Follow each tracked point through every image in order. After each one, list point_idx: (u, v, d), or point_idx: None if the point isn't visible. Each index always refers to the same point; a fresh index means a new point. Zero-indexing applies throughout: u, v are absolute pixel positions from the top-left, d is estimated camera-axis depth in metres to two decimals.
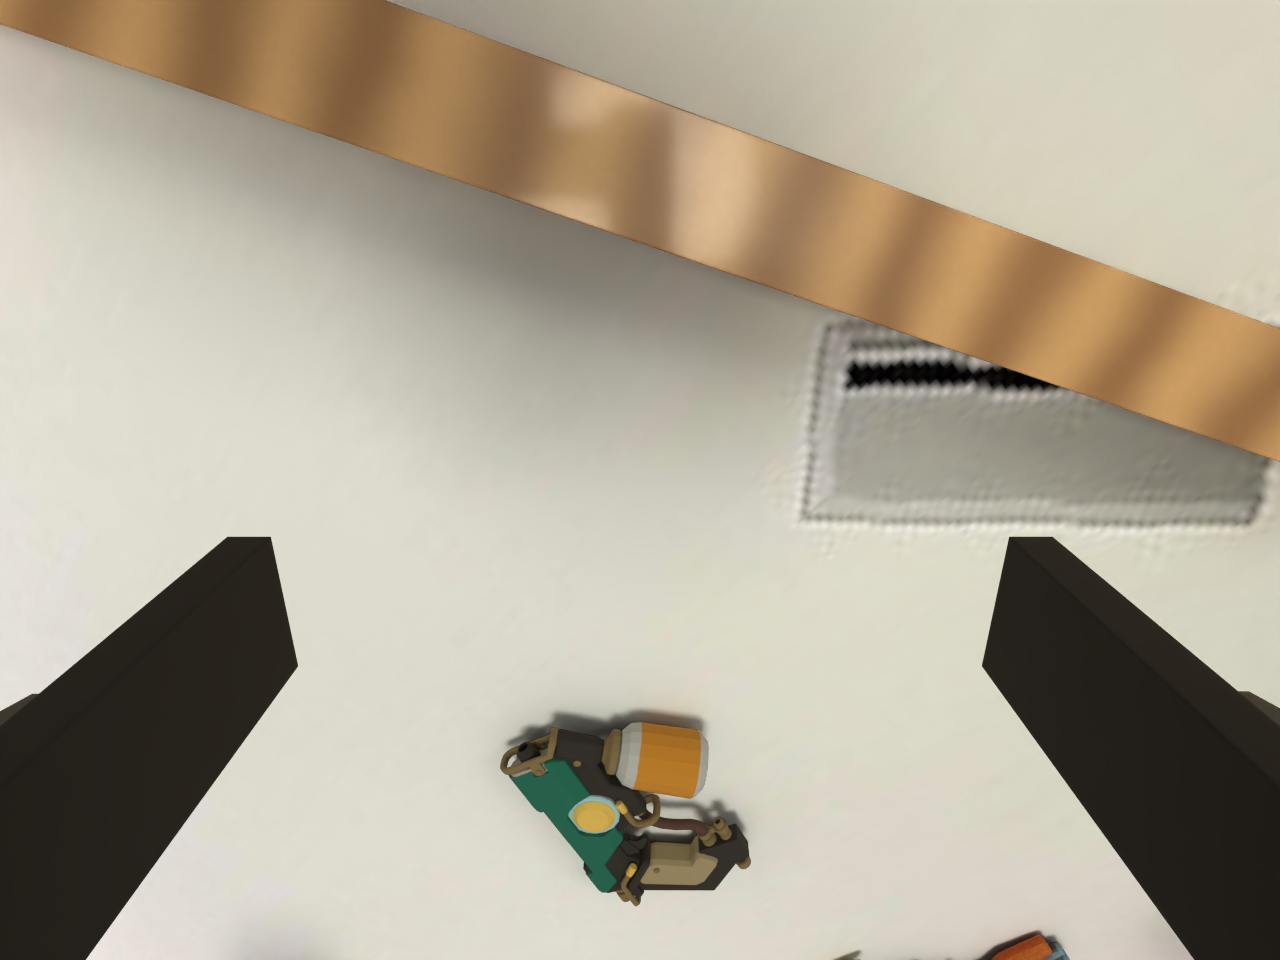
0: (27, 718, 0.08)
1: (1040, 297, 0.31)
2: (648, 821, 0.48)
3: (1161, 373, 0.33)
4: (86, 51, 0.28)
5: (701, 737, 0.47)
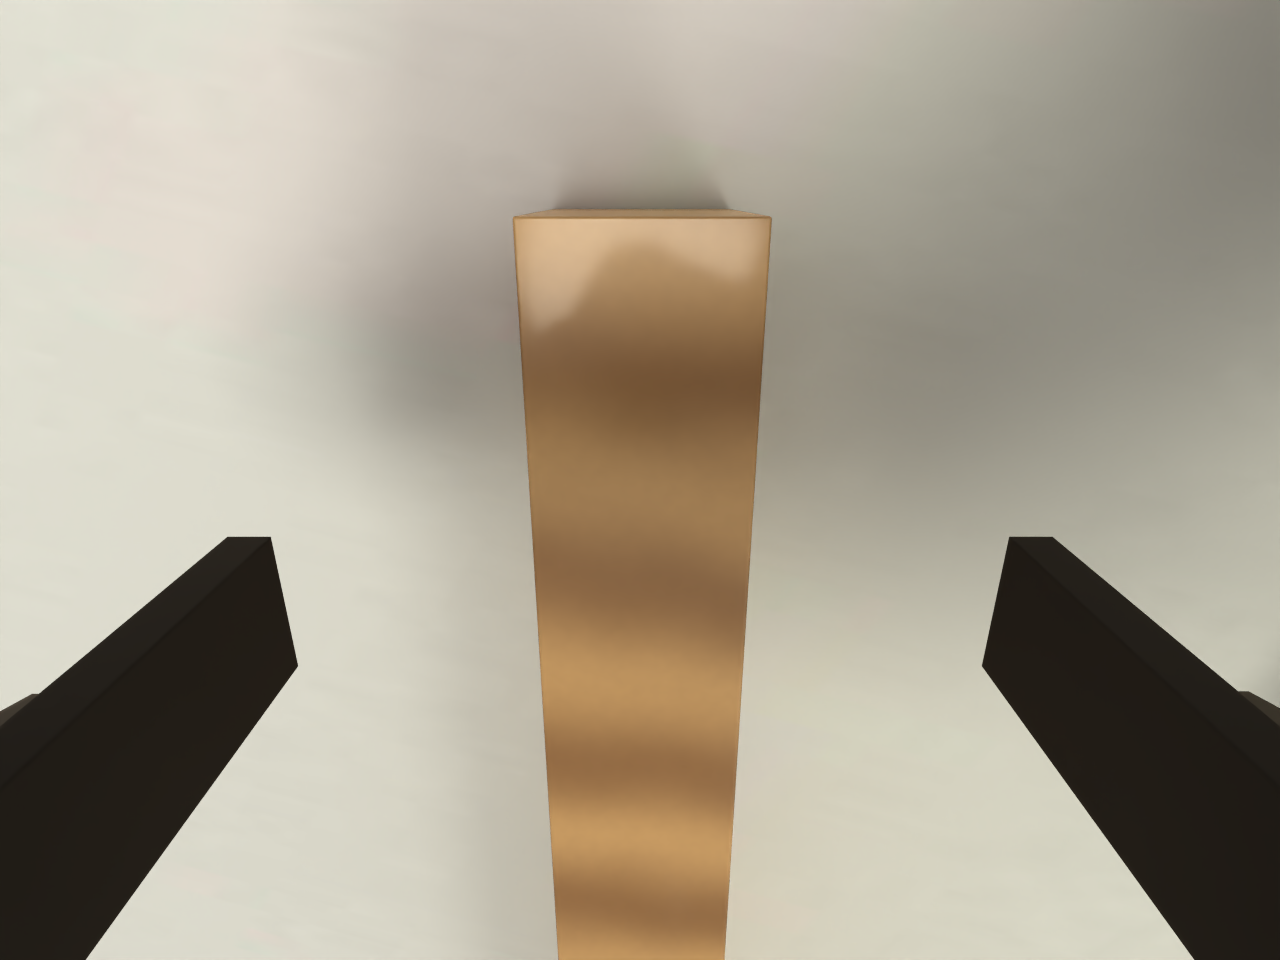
0: (27, 718, 0.08)
1: None
2: None
3: None
4: (540, 624, 0.18)
5: None
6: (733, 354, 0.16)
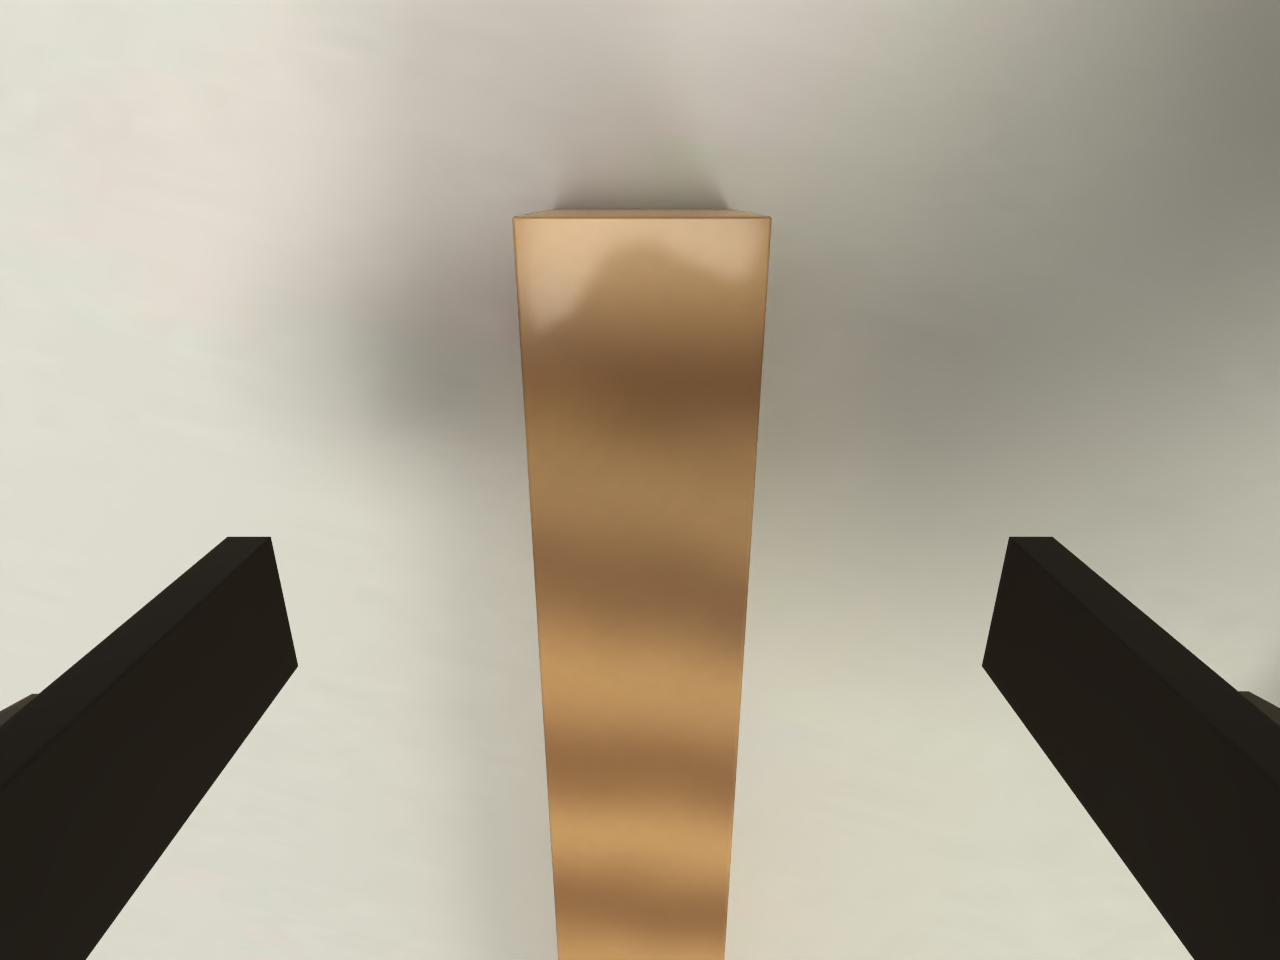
0: (27, 718, 0.08)
1: None
2: None
3: None
4: (540, 624, 0.18)
5: None
6: (733, 354, 0.16)
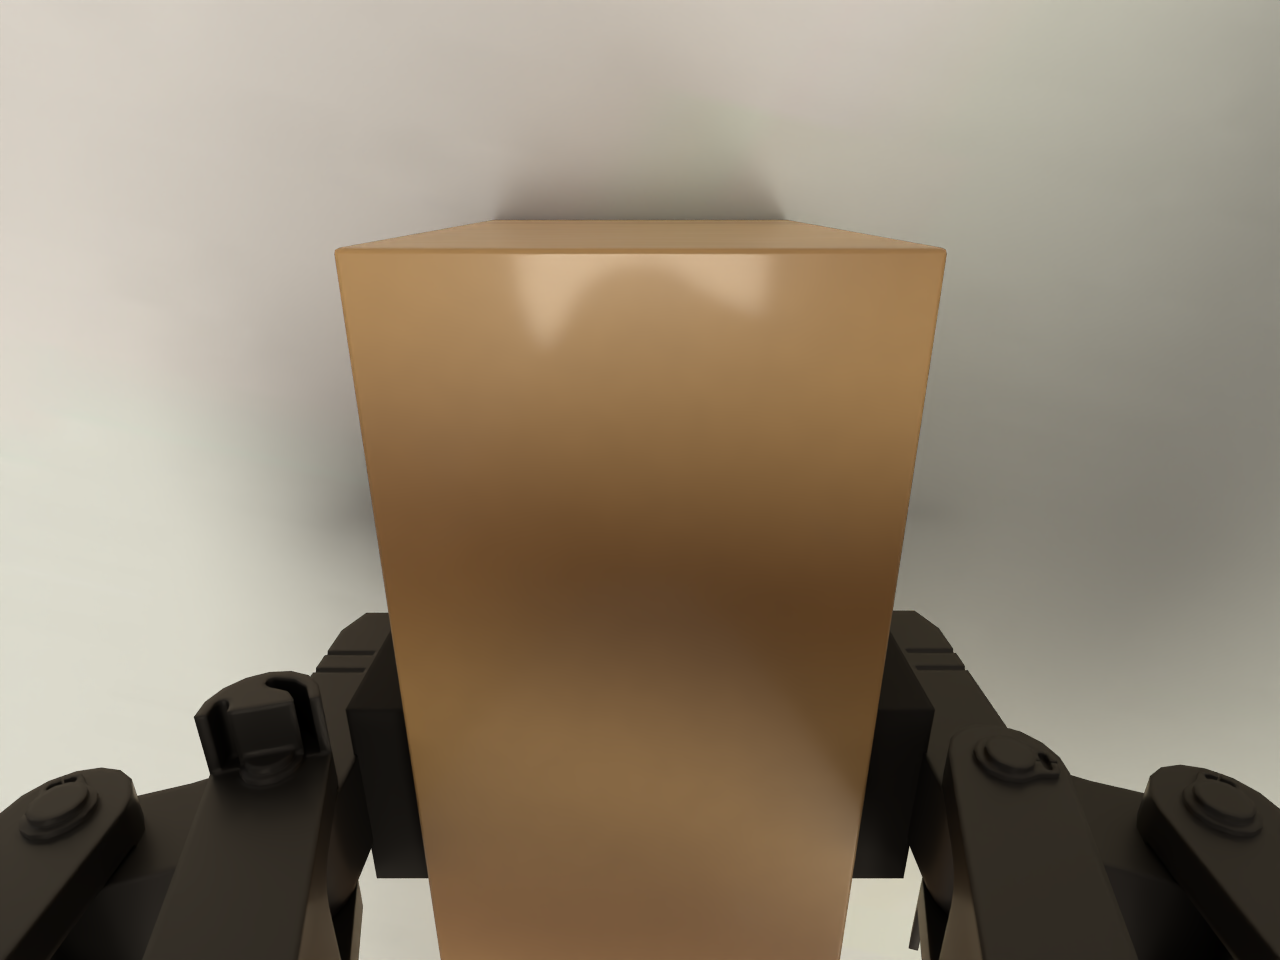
0: None
1: None
2: None
3: None
4: None
5: None
6: (839, 543, 0.07)
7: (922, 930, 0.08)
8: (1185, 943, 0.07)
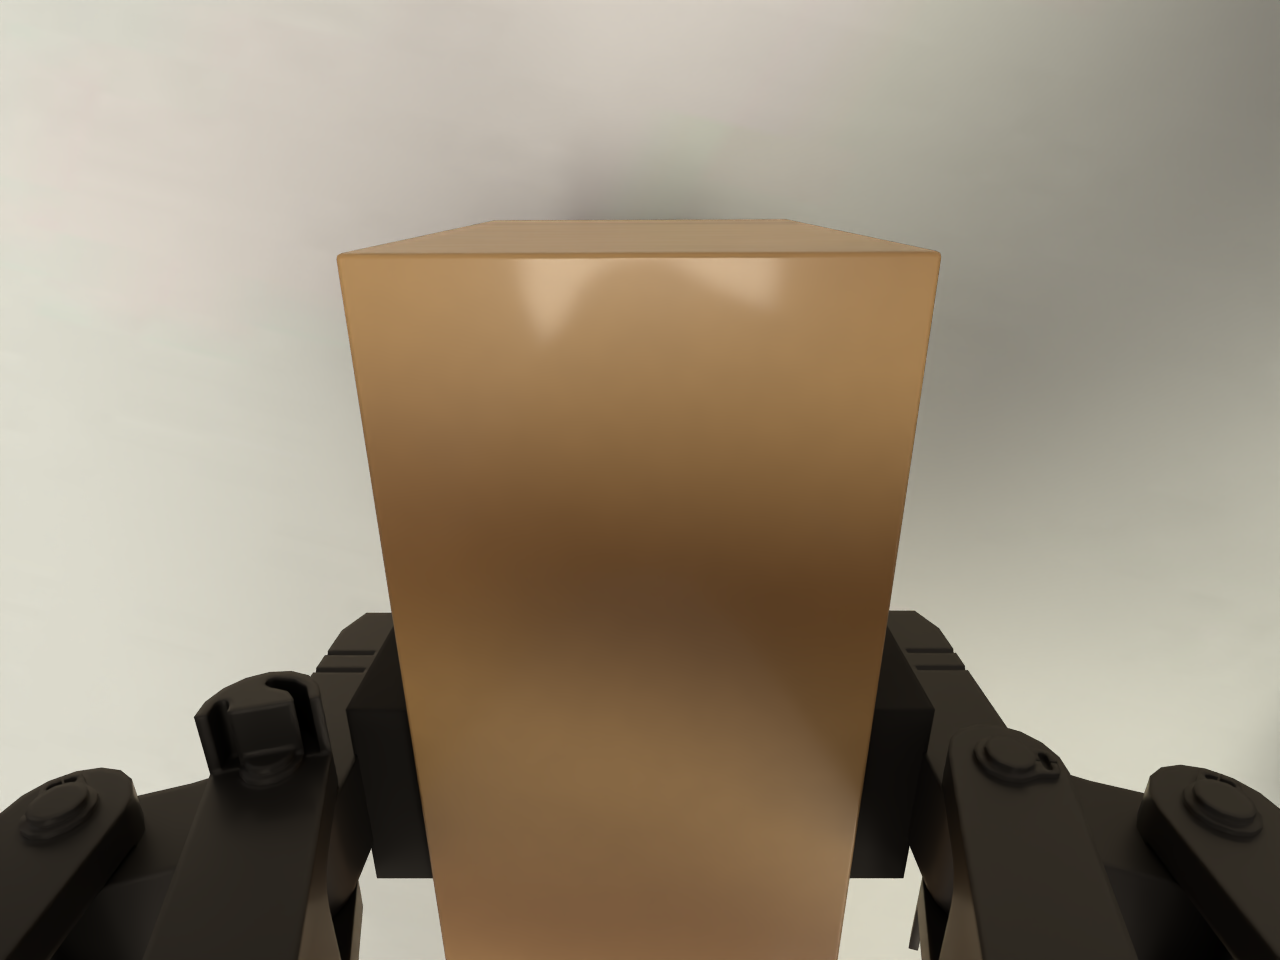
0: None
1: None
2: None
3: None
4: None
5: None
6: (835, 542, 0.07)
7: (922, 930, 0.08)
8: (1185, 943, 0.07)
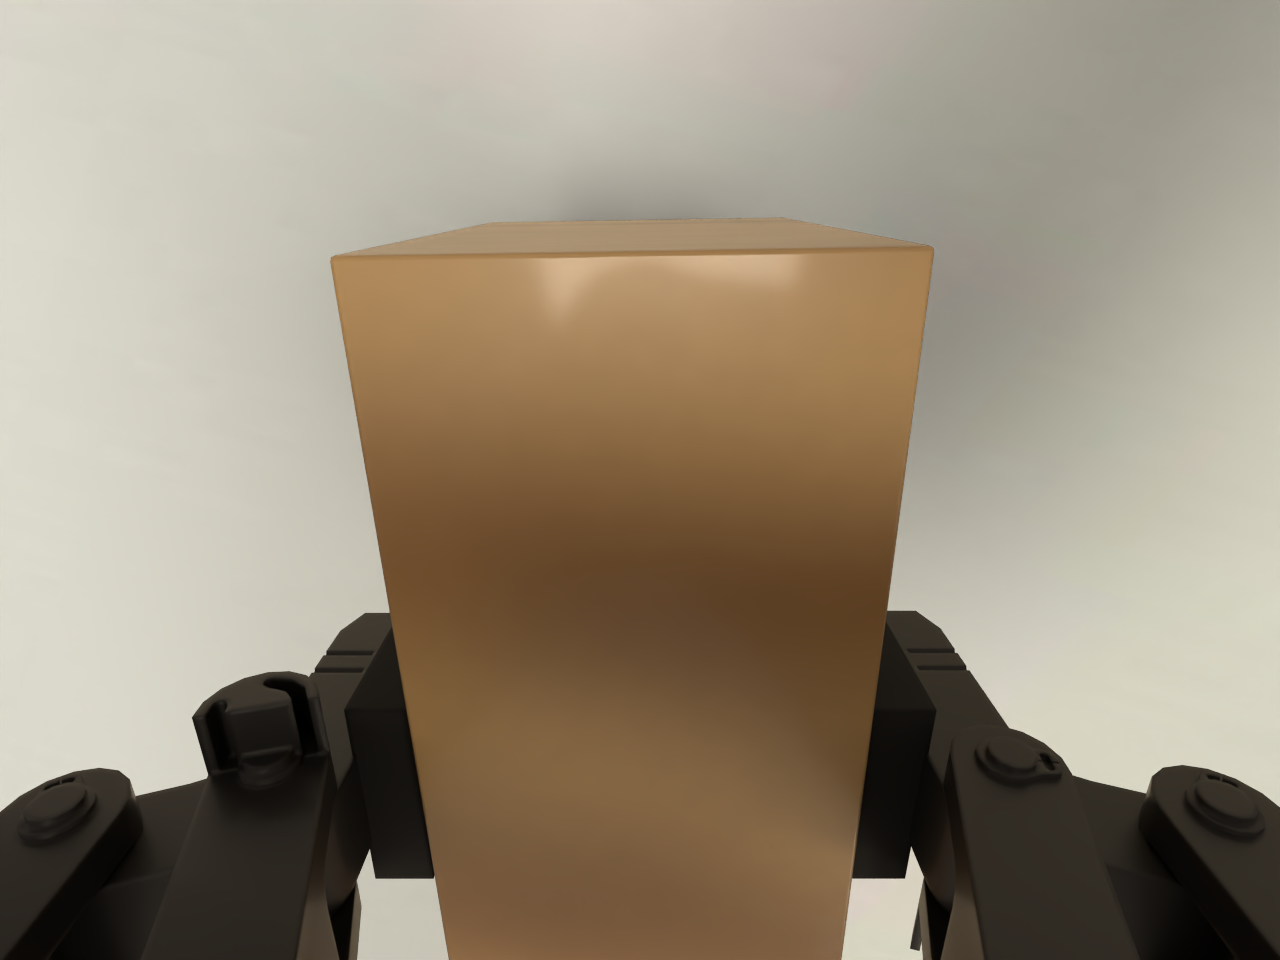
0: None
1: None
2: None
3: None
4: None
5: None
6: (832, 538, 0.07)
7: (923, 930, 0.08)
8: (1187, 944, 0.07)
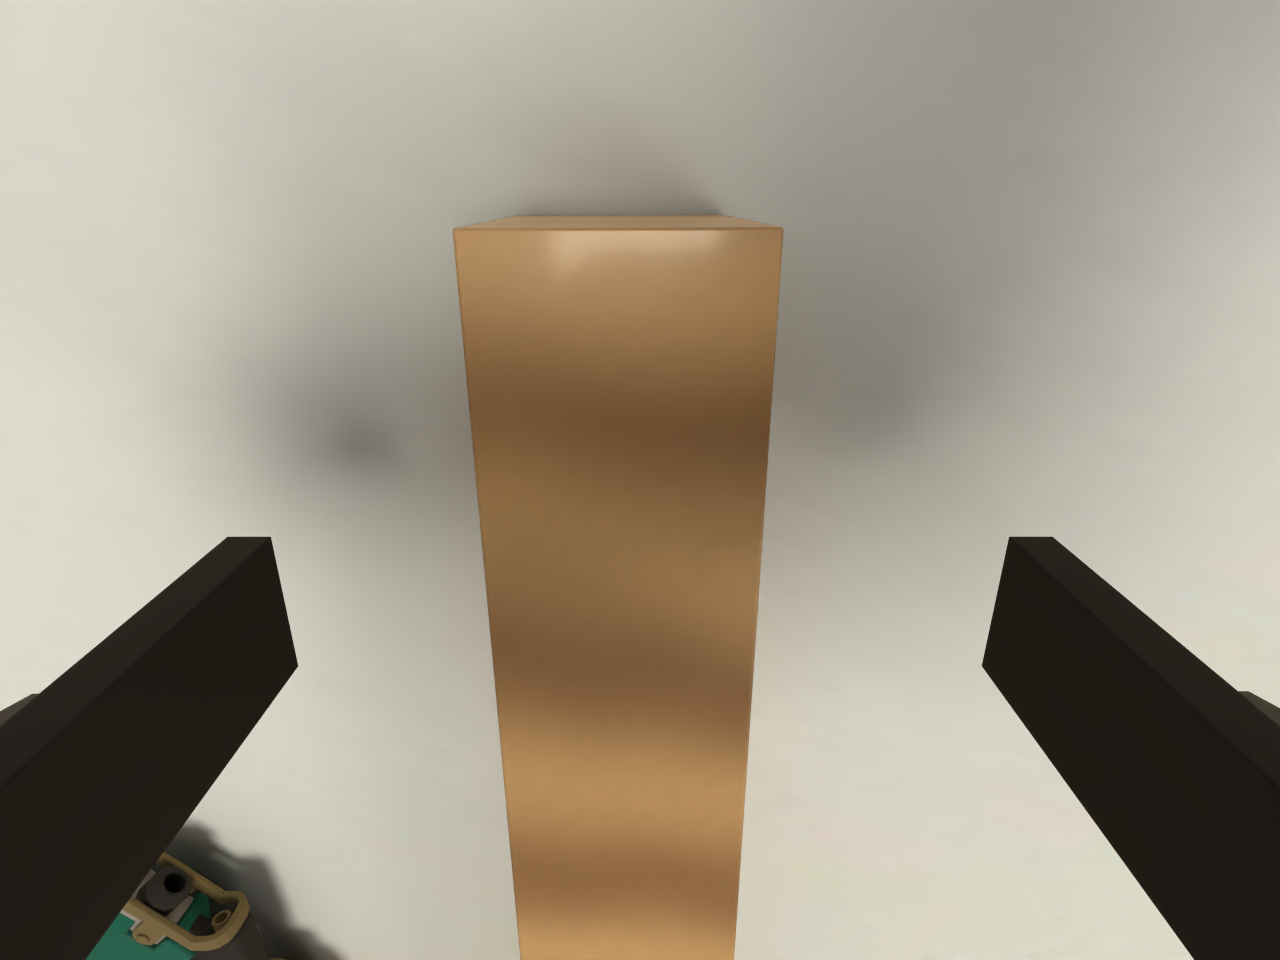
0: (28, 718, 0.08)
1: None
2: None
3: None
4: (501, 721, 0.15)
5: None
6: (735, 398, 0.13)
7: None
8: None
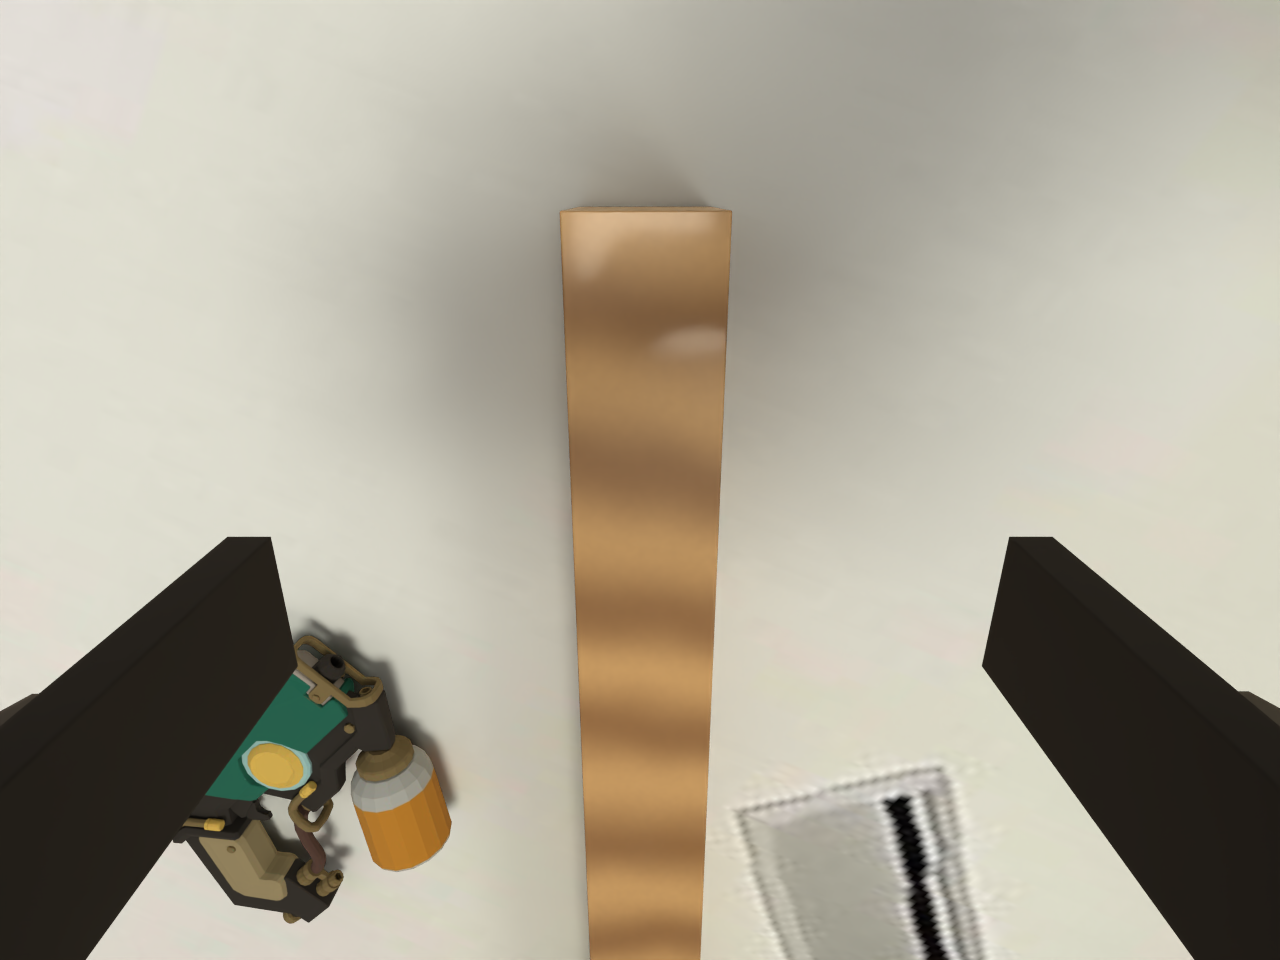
0: (27, 718, 0.08)
1: None
2: (307, 825, 0.37)
3: None
4: (573, 502, 0.26)
5: None
6: (707, 304, 0.23)
7: None
8: None
